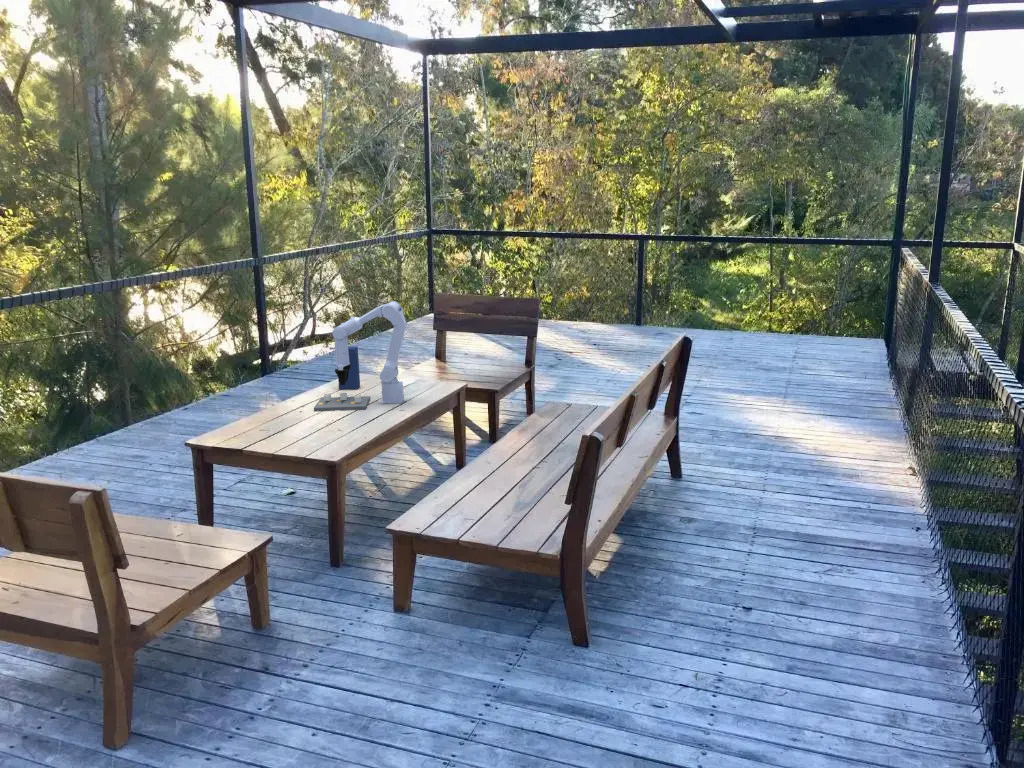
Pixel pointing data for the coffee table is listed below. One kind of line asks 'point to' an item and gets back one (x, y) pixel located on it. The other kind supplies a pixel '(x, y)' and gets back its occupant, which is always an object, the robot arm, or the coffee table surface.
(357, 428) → the coffee table surface
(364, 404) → the switch panel
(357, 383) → the electronic device
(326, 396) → the switch
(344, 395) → the switch
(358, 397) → the switch
